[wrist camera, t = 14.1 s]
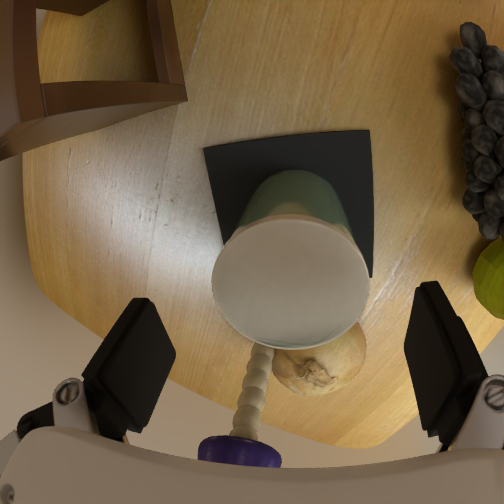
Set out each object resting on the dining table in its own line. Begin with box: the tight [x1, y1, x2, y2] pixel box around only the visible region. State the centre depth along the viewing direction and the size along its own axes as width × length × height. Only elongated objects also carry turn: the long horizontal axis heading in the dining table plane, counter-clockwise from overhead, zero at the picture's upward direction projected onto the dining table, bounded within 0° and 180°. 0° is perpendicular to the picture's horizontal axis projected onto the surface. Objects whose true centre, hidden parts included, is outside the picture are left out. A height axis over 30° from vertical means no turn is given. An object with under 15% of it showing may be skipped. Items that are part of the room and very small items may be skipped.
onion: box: [271, 322, 366, 396], centre depth 22 cm, size 8×8×7 cm
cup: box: [212, 170, 370, 350], centre depth 16 cm, size 7×7×9 cm
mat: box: [203, 130, 374, 278], centre depth 20 cm, size 11×11×1 cm
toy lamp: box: [198, 342, 282, 468], centre depth 17 cm, size 5×5×17 cm
